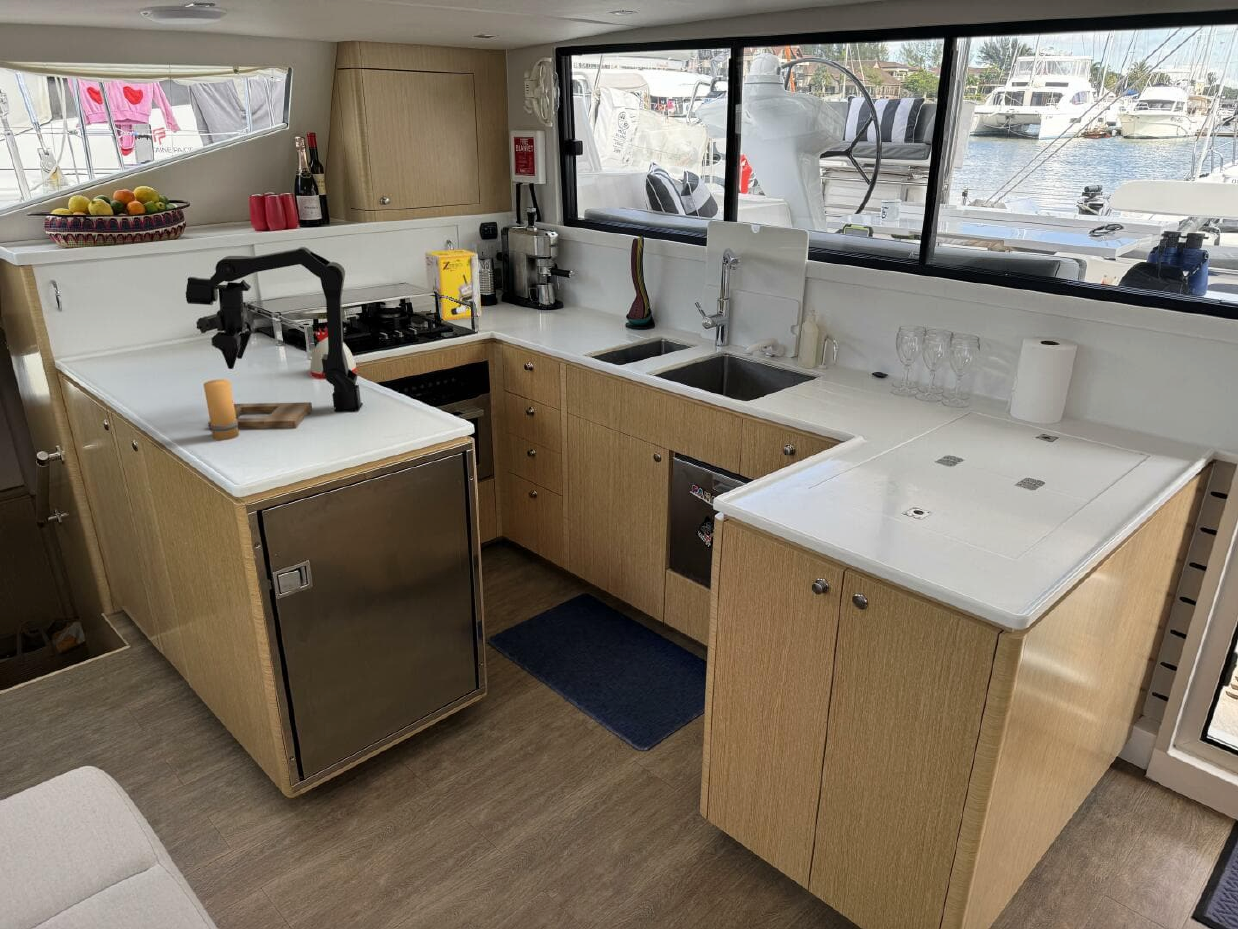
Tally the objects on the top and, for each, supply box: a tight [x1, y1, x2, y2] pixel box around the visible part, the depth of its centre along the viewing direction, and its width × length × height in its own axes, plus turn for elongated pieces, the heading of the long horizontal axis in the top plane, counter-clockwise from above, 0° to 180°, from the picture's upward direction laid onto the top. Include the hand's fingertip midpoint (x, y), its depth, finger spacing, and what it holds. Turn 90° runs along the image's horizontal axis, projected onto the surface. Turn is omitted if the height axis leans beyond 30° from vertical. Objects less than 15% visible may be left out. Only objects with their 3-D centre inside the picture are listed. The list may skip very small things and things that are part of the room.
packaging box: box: [424, 248, 482, 322], centre depth 354 cm, size 16×16×25 cm
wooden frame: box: [207, 401, 313, 431], centre depth 234 cm, size 22×16×2 cm
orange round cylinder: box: [203, 379, 240, 441], centre depth 219 cm, size 6×6×14 cm
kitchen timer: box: [309, 326, 358, 380], centre depth 274 cm, size 14×14×15 cm
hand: (235, 363), depth 233 cm, fingers open, 9 cm apart
